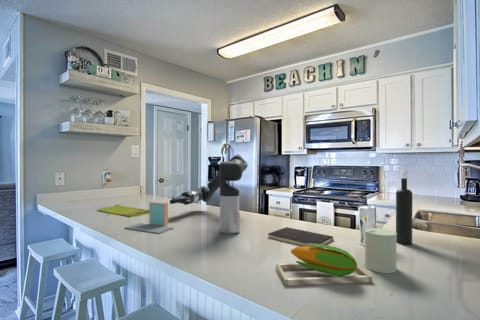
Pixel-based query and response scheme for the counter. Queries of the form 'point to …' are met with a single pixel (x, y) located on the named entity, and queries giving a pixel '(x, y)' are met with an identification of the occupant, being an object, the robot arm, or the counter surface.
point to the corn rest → (320, 280)
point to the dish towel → (124, 211)
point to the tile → (158, 213)
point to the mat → (149, 228)
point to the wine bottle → (404, 212)
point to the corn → (326, 259)
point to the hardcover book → (300, 237)
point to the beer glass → (366, 220)
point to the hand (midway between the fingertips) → (170, 201)
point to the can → (380, 250)
